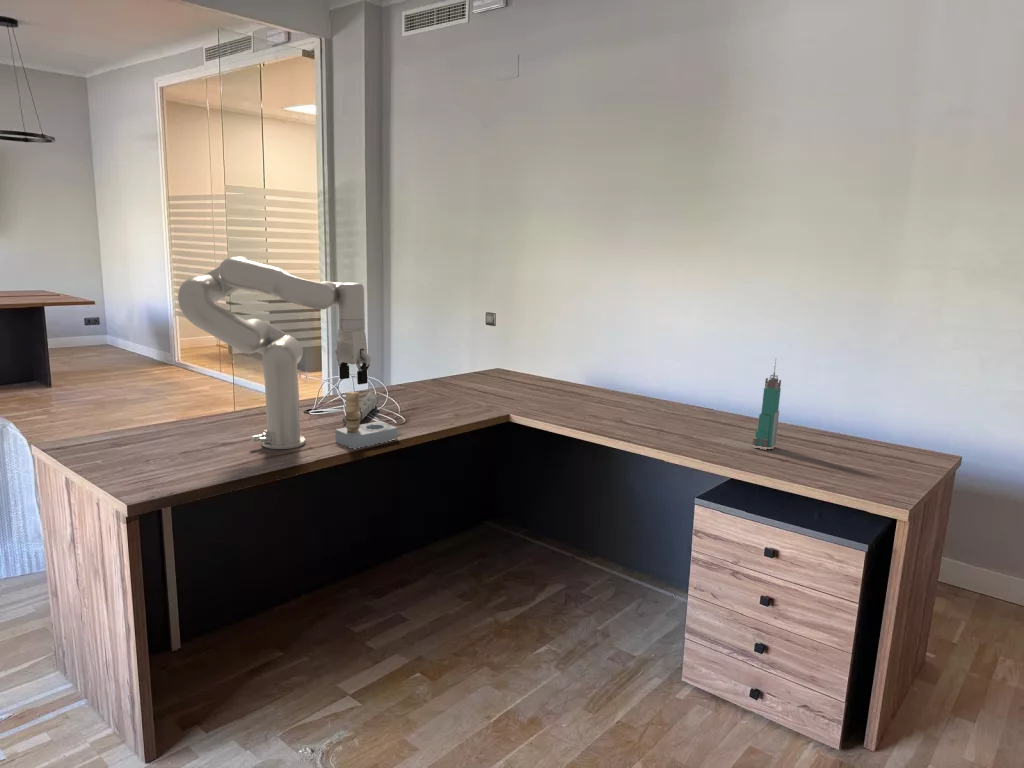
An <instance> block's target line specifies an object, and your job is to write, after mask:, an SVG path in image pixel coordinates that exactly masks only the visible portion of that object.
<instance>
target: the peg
mask: <svg viewBox="0 0 1024 768" xmlns="http://www.w3.org/2000/svg"><path fill="white" fill-rule="evenodd" d="M359 403H360V392H358V391H347V392H345V416H346V424H345V428H347V432H349V433H356V432H359V428H360V425H361V423H360V420H361V415H360V413H359Z"/></svg>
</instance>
